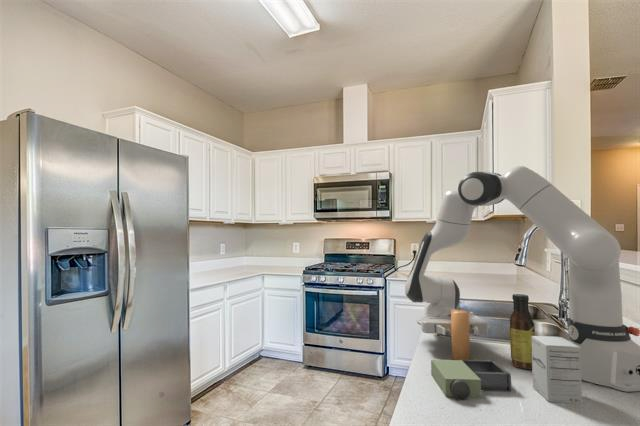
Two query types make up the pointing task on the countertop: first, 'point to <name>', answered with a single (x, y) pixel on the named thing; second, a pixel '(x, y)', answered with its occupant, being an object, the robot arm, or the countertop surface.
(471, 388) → the green rectangular block
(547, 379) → the supplement box
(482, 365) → the frame
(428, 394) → the countertop surface
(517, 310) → the sauce bottle
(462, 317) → the orange cylinder
